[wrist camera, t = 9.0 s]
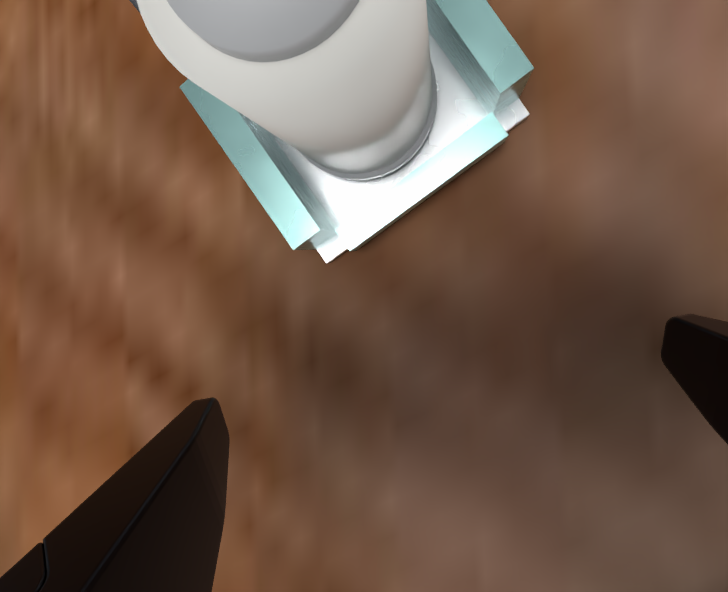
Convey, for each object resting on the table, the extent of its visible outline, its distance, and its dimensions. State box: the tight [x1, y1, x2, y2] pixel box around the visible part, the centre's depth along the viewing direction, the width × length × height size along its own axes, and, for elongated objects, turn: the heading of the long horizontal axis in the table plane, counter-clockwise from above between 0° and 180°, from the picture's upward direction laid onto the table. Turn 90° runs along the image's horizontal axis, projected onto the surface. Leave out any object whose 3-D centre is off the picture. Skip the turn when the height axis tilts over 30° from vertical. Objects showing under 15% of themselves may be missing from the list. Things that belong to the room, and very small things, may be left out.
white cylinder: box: [137, 0, 437, 181], centre depth 13 cm, size 6×6×10 cm
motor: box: [130, 0, 534, 263], centre depth 16 cm, size 13×10×6 cm
